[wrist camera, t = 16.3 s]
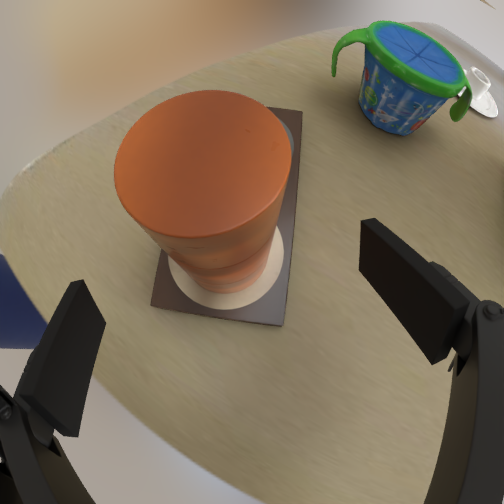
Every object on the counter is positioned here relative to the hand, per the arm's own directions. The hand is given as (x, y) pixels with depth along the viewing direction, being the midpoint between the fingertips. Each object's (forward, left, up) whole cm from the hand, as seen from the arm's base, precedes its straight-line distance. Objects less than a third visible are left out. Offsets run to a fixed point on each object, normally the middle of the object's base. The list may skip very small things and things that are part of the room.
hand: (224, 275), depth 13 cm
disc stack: (-1, +3, -8) cm, 9 cm away
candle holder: (+32, +35, -10) cm, 49 cm away
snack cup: (+14, +22, -10) cm, 28 cm away
